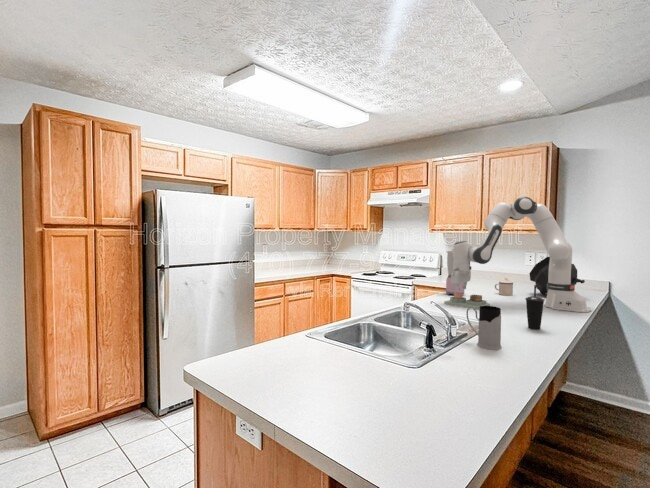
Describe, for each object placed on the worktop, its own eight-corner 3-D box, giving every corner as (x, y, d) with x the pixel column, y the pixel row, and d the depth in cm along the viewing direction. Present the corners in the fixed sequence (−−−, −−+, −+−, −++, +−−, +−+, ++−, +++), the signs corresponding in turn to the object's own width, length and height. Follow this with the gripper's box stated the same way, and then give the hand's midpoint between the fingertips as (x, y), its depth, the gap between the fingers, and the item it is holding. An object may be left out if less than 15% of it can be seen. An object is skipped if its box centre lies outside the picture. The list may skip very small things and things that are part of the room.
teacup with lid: (514, 294, 251) (515, 278, 250) (510, 296, 244) (510, 279, 244) (496, 292, 259) (497, 276, 259) (492, 294, 253) (492, 277, 252)
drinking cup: (526, 325, 169) (527, 283, 168) (545, 327, 164) (546, 285, 164) (523, 328, 163) (524, 285, 163) (542, 331, 158) (543, 286, 158)
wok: (545, 293, 229) (521, 267, 247) (553, 310, 246) (531, 285, 264) (587, 269, 222) (559, 244, 240) (592, 289, 239) (566, 264, 257)
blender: (445, 295, 246) (446, 249, 245) (445, 292, 258) (446, 248, 257) (470, 296, 241) (471, 249, 240) (469, 294, 253) (469, 249, 252)
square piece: (481, 303, 211) (482, 295, 211) (478, 305, 207) (478, 296, 207) (473, 302, 214) (473, 294, 214) (470, 303, 211) (470, 295, 211)
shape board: (490, 306, 212) (490, 300, 212) (480, 309, 202) (480, 303, 202) (454, 300, 228) (454, 295, 227) (444, 303, 218) (444, 298, 218)
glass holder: (494, 351, 132) (495, 311, 131) (460, 341, 143) (460, 304, 143) (506, 347, 137) (507, 308, 137) (472, 337, 149) (473, 302, 148)
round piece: (463, 301, 219) (464, 293, 219) (460, 302, 215) (460, 294, 215) (456, 300, 222) (456, 292, 222) (452, 301, 219) (452, 293, 219)
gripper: (458, 269, 208) (458, 292, 209) (472, 266, 223) (472, 288, 223) (448, 268, 213) (448, 291, 213) (462, 266, 227) (462, 287, 228)
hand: (460, 290), depth 218 cm, fingers open, 8 cm apart
